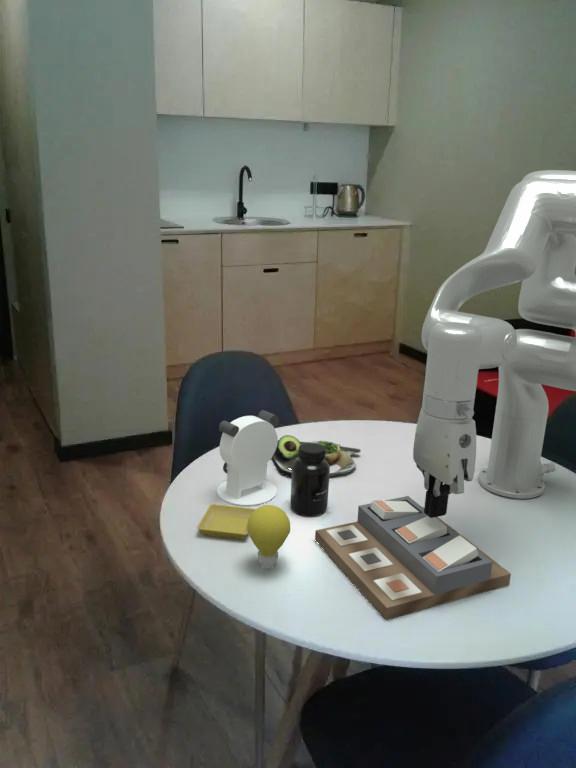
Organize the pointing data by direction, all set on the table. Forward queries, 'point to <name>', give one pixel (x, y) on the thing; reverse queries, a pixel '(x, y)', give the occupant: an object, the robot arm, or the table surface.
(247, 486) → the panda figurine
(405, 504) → the rocker
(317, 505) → the supplement bottle
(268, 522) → the light bulb
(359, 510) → the switch housing
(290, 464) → the salad plate
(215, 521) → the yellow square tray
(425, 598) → the board
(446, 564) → the rocker
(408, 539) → the rocker
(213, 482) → the table surface
